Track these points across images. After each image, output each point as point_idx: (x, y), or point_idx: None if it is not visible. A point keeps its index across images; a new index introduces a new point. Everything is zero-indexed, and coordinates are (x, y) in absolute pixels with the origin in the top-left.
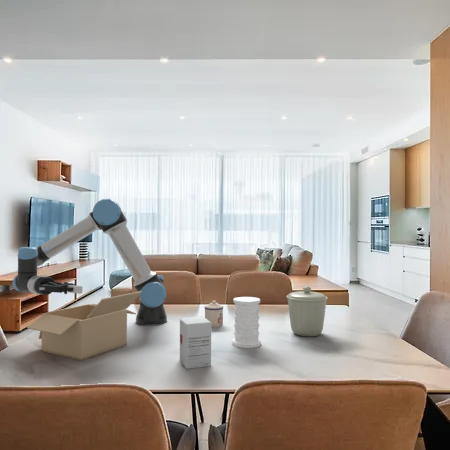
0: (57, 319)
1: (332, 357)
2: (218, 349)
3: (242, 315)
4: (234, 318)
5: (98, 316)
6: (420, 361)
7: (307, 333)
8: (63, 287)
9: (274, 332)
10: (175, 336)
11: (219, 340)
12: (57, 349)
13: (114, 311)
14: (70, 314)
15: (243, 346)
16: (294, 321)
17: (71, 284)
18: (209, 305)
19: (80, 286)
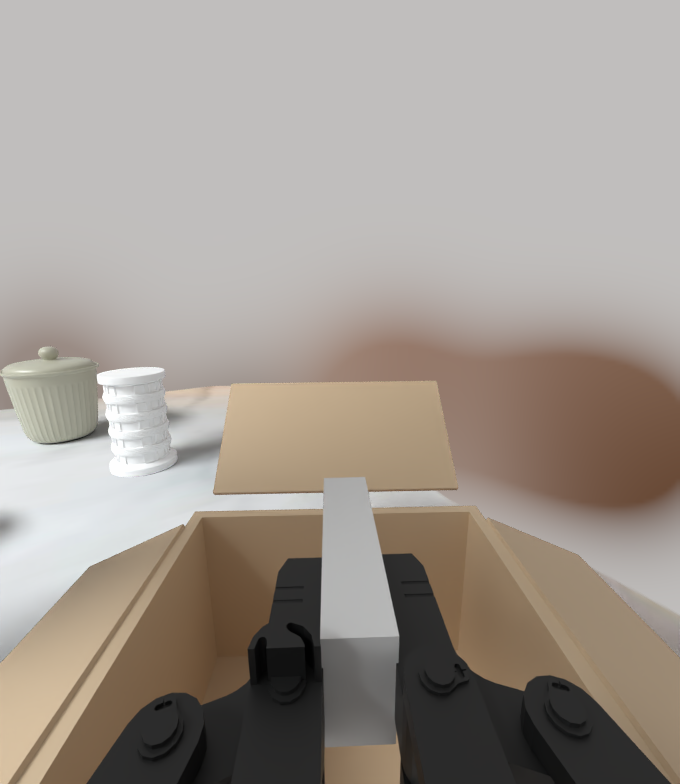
0: (590, 628)
1: (201, 412)
2: (197, 476)
3: (161, 401)
4: (137, 421)
5: (379, 510)
6: (196, 390)
7: (96, 424)
8: (497, 689)
9: (45, 458)
10: (63, 580)
11: (120, 494)
12: None
13: (298, 492)
14: None
15: (176, 457)
16: (77, 414)
17: (304, 638)
18: None
19: (343, 481)
